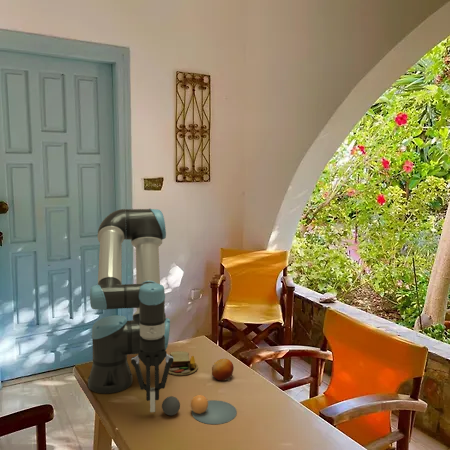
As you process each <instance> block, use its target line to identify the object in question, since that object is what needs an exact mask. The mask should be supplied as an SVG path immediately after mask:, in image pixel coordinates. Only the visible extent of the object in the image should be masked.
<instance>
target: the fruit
mask: <svg viewBox="0 0 450 450" xmlns="http://www.w3.org/2000/svg"><path fill="white" fill-rule="evenodd" d="M234 368H235V367H234V364H233V362H232V361H231V360H230V359H228V358H221V359H218V360H217V361H216V362H214V363H213V364H212V367H211V376H213V378H214V379H216V380H218V381H221V382H222V381H230V378H231V377H233V372H234Z"/></svg>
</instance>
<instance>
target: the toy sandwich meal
mask: <svg viewBox="0 0 450 450" xmlns="http://www.w3.org/2000/svg"><path fill="white" fill-rule="evenodd" d="M169 355H170V356H171V355H172V356H173V362H172V364H171V365H170V368H169V372H168V374H170V375H173V376H179V377H180V376H182V377H183V376H189V375H191V374H194V373H195V372H196V371H197V370H198V368H199V365H198V364H197V363H196V359H195V356H194V355H192V356H191V357H189V355H190V352H188V351H184V350H183V351H182V350H181V351H172V352H170V353H169Z"/></svg>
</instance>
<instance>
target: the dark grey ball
mask: <svg viewBox="0 0 450 450" xmlns="http://www.w3.org/2000/svg"><path fill="white" fill-rule="evenodd" d="M180 408H181V403H180V400H179V399H178V398H177V397H175V396H172V395H171V396H167V397H165V399H164V400H163V402H162V404H161V409H162V411H163V413H164V414H166V415H168V416H175V415H177V414H178V413H179V411H180Z"/></svg>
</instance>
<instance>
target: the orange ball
mask: <svg viewBox="0 0 450 450" xmlns="http://www.w3.org/2000/svg"><path fill="white" fill-rule="evenodd" d="M208 401H209V400H208V399H207V397H206V396H204V395H203V394H197V395H195V396H193V397H192V399H191V400H190V405H189V406H190V409H191V412H192V411H193V412H195V413H197V414H201V413H204V412H205V411H206V410H207V408H208Z"/></svg>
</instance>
